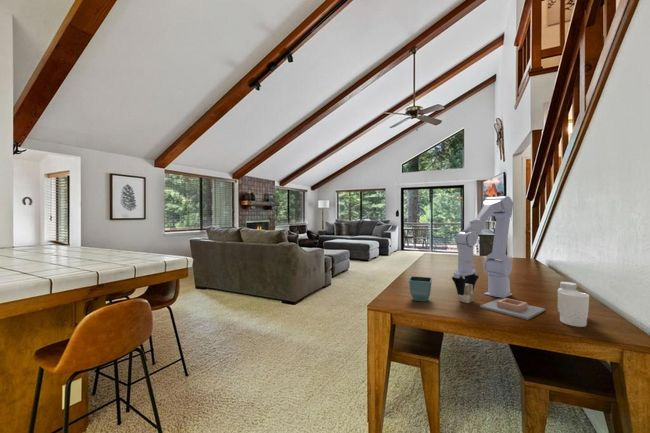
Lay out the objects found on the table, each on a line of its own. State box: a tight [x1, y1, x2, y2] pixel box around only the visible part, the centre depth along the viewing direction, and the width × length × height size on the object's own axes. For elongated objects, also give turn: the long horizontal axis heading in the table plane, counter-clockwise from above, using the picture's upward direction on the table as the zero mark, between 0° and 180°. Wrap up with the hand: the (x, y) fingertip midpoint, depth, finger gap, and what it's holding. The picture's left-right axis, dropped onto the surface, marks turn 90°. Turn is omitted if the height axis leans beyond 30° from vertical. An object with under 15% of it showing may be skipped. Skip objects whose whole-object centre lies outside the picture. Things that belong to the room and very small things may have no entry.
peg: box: [457, 283, 474, 304], centre depth 121 cm, size 4×4×7 cm
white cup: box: [557, 290, 590, 328], centre depth 97 cm, size 8×8×10 cm
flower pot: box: [408, 275, 433, 303], centre depth 123 cm, size 9×9×9 cm
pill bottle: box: [556, 281, 580, 313], centre depth 106 cm, size 6×6×11 cm
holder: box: [480, 297, 546, 321], centre depth 111 cm, size 16×16×3 cm
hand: (465, 293), depth 121 cm, fingers open, 7 cm apart
